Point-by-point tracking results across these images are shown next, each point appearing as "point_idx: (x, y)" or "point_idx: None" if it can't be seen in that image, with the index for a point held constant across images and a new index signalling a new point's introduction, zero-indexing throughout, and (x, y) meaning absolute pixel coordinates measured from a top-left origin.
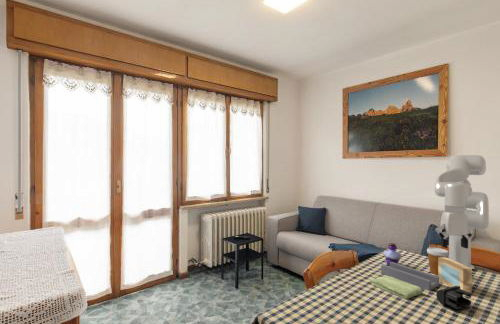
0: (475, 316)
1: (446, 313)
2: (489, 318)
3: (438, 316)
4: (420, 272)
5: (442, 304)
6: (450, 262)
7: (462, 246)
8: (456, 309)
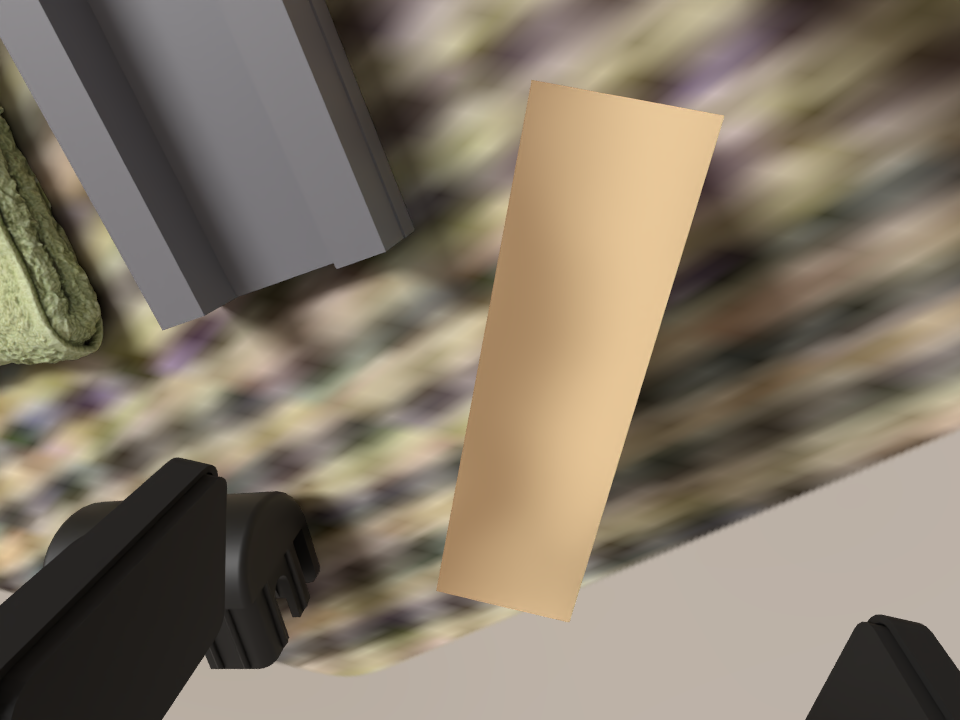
0: None
1: None
2: (327, 667)
3: None
4: (248, 68)
5: None
6: (491, 376)
7: (844, 675)
8: None
